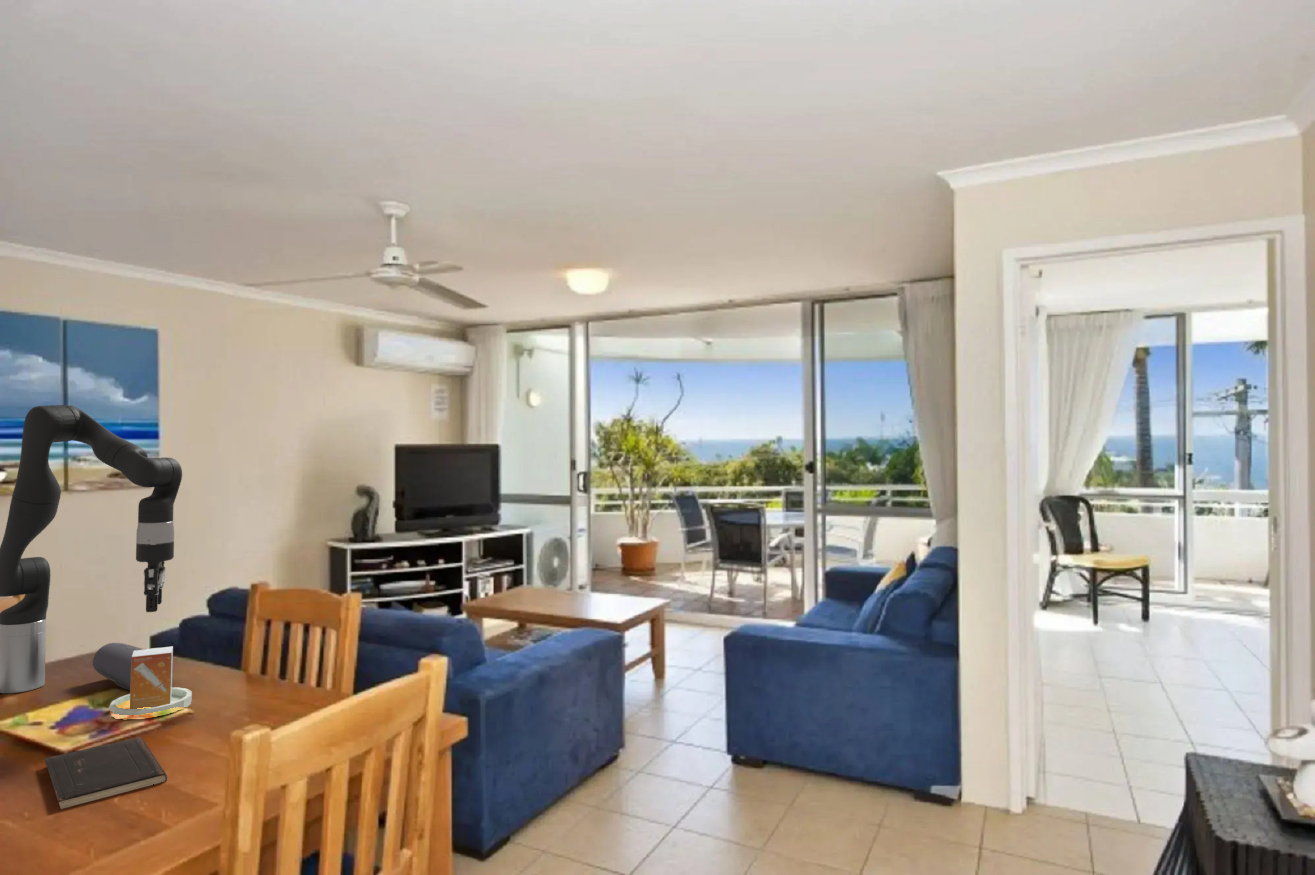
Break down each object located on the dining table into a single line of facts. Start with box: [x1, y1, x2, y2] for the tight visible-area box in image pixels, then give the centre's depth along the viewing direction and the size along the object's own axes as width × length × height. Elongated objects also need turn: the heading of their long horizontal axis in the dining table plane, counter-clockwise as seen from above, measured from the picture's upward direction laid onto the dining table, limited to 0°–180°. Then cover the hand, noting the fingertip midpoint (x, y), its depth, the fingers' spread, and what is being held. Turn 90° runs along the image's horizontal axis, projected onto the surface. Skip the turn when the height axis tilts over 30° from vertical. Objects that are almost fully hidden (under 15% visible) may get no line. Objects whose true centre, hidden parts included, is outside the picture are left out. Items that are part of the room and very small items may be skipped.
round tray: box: [109, 686, 193, 715], centre depth 176 cm, size 16×16×2 cm
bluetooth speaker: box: [92, 642, 144, 691], centre depth 191 cm, size 23×9×10 cm, turn 58°
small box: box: [129, 645, 174, 709], centre depth 175 cm, size 8×6×13 cm
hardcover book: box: [44, 736, 168, 810], centre depth 141 cm, size 16×23×2 cm
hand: (153, 608), depth 176 cm, fingers open, 8 cm apart
